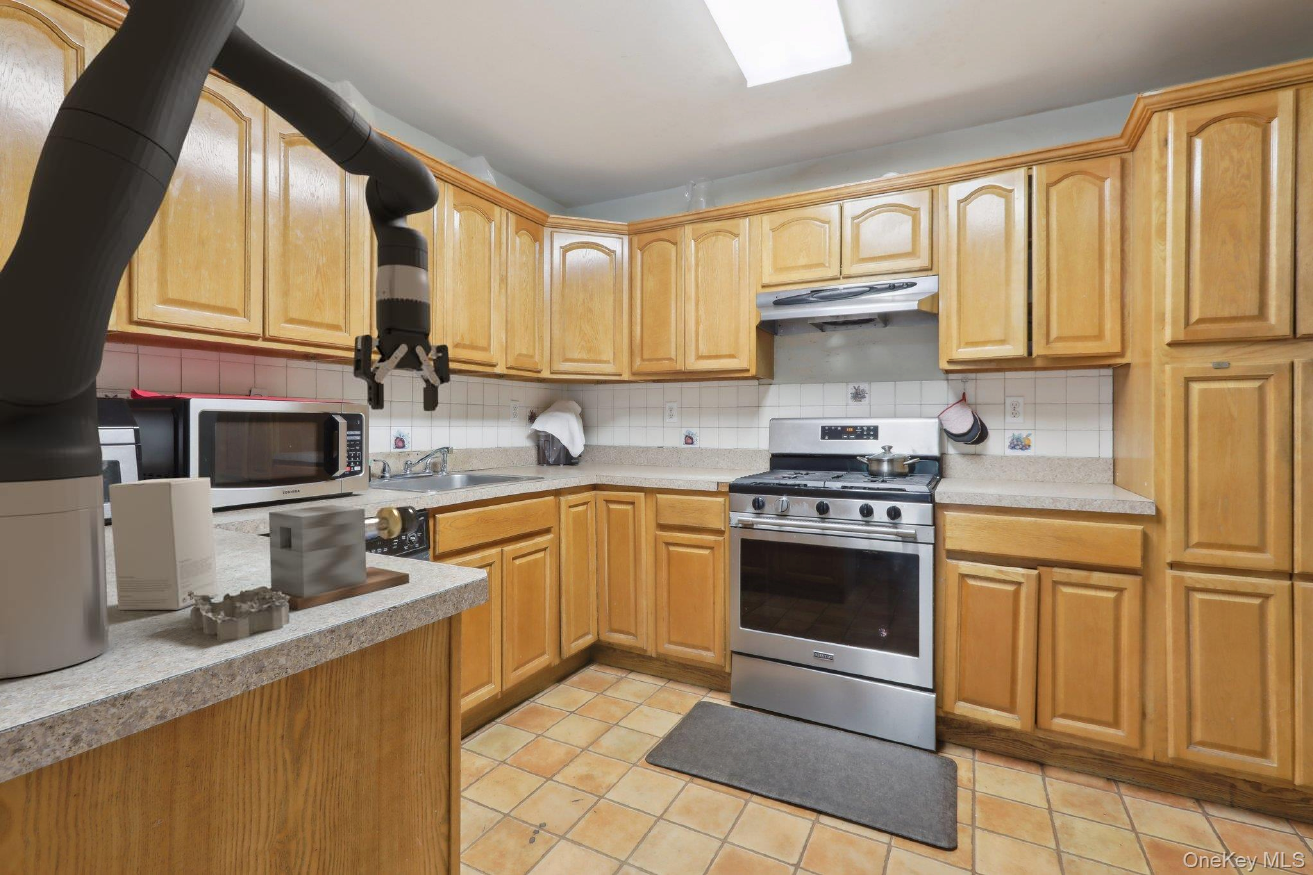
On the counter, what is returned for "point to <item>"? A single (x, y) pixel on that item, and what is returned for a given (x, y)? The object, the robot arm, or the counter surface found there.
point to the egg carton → (240, 613)
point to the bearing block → (323, 556)
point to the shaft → (393, 521)
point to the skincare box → (163, 542)
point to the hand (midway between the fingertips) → (404, 410)
